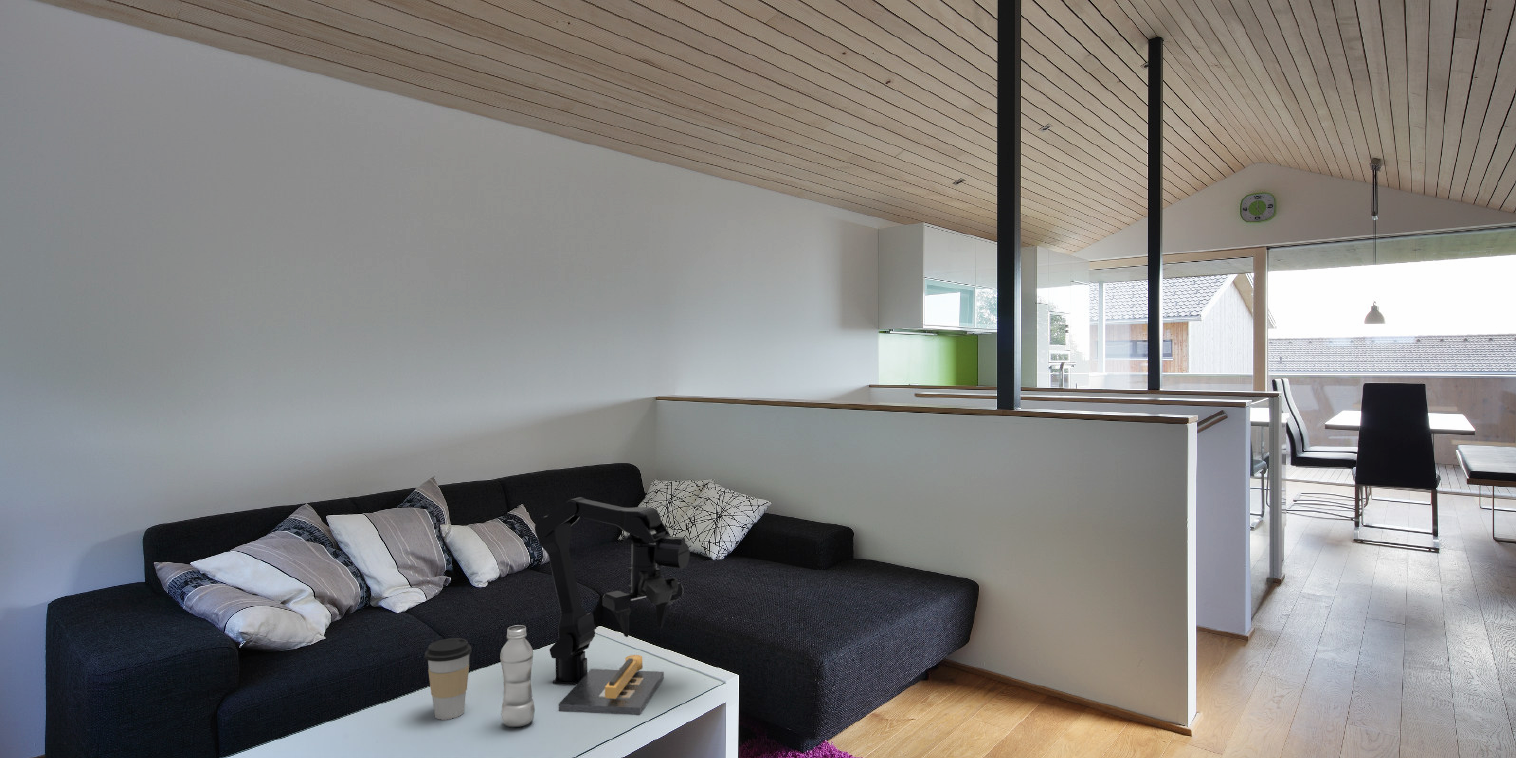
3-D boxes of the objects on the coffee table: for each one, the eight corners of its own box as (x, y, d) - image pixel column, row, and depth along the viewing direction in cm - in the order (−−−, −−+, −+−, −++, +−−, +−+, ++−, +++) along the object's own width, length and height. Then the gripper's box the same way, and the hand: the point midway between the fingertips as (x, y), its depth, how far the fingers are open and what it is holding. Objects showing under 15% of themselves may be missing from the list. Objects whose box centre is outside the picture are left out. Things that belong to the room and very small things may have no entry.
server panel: (558, 710, 165) (558, 700, 165) (591, 674, 185) (591, 665, 185) (639, 714, 163) (639, 704, 163) (664, 677, 183) (663, 668, 183)
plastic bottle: (529, 731, 156) (528, 632, 156) (496, 731, 156) (495, 633, 156) (539, 717, 162) (537, 622, 162) (507, 717, 162) (506, 622, 162)
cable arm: (601, 697, 166) (601, 683, 166) (628, 664, 185) (628, 651, 185) (619, 698, 165) (619, 683, 165) (644, 665, 184) (644, 651, 184)
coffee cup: (481, 707, 167) (481, 639, 167) (451, 726, 158) (450, 654, 158) (446, 702, 170) (445, 634, 170) (414, 720, 161) (414, 649, 161)
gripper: (628, 578, 163) (628, 651, 163) (698, 564, 176) (697, 632, 176) (601, 568, 171) (600, 637, 171) (669, 555, 184) (668, 620, 184)
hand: (643, 632), depth 175 cm, fingers open, 9 cm apart
